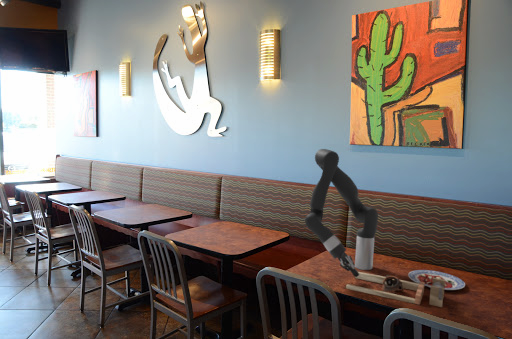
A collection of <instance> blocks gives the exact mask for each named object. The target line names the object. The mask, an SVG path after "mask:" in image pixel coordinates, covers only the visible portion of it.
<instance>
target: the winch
mask: <svg viewBox="0 0 512 339" xmlns="http://www.w3.org/2000/svg"><path fill="white" fill-rule="evenodd" d="M444 288H445V280H443V279H438V278H433V282H432V285H431V287H430V291H429V304H428V305H429V306H430V305H431V306H435V307H437V308H438V307H439V308H443V300H444V296H445V290H444Z"/></svg>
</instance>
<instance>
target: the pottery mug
mask: <svg viewBox="0 0 512 339" xmlns="http://www.w3.org/2000/svg"><path fill="white" fill-rule="evenodd" d="M384 277H386V278H384V280H383V284H382V286H381V288H382V290H381V291H382V292H387V293H391V292H392V293H393V292H395V291H400V290H401V292H402V293H404V292H405V288H403V287H402V286H403V285H402V282H401V281H400V280H401V279H399V278H398V277H397V276H395V275H390V274H387V275H385V276H384ZM392 279H394V280H392ZM385 281H386V283H387V285H386V284H385ZM392 285H393V286H392Z"/></svg>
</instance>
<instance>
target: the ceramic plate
mask: <svg viewBox="0 0 512 339" xmlns="http://www.w3.org/2000/svg"><path fill="white" fill-rule="evenodd" d="M407 274H408V275H407V276H408V278H409V279H410V280H411V281H412V282H413V283H418V284H419V283H420V282H424V283H425V285H424V287H427V288H431V285H432V282H433V278H438V279H443V280H445V288H444V291H445V290H446V291H456V290H461V289H463V288H465V286H466V283H465V281H463V280H462V279H461V278H459V277H457V276H455V275H452V274H449V273H446V272H441V271H438V270H437V271H436V270H428V269H417V270H412V271H410V272H408V273H407Z"/></svg>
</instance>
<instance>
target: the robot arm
mask: <svg viewBox="0 0 512 339" xmlns="http://www.w3.org/2000/svg"><path fill="white" fill-rule="evenodd" d="M314 159H315V160H314V161H315V163H316V165H317V166H318V167H319V168H320V169H321V171H322V173H321V176H320V179H319V181H318V182H317V184H316V185H315V187H314V188H313V190H312V193H311V198H310V202H309V206H310V210H309V211H310V212H309V214H307V215H305V217H304V224H305V225H306V227H307V228H308V229H309V231H311V232H312V233H313V234H314V235H315V236H317V238H318V239H319V240H320V242H321V244H323V246H324V248H325V249H326V250H327V251H328V252H329V254H330V255H331V256H332V257H331V258H333V259H335V260H336V259H337V260H338V261H339V263H340V264H339V266H340V267H341V268H343V269H344V270H345V271H347V272H351V273H352V275H353V277H354V278H355V277H357V276H359V273H358V272H359V271H357V270H363V271H369V270H372V269H373V263H374V249H375V236H376V233H377V228H378V223H379V222H378V220H379V213H378V210H377V209H376V208H374V207H370V206H366V205H365V204H363V202H361V200H360V198H359V189H358V187H357V185H356V183H355V182H354V181H353V179H352V178H351V177H350V176H349V175H348V174H346V173H345V172H344V170H342V169H341V168H340V167H339V166H338V165H339V162H340V161H339V160H340V156H339V154H338V152H335V150H330V149H327V148H321V149H318V150H317V151H316V152H315V155H314ZM331 183H332V184H333V187H335V190H336V191H337V192H338V193H339V195H340V196H341V198H342V199H343V200H344V202H345V203H346V205H347V206H348V207H349V209H350V211H351V212H352V214H353V217H354V218H355V219H356V221H357V222H359V223H361V224H363V228H360V229H358V230H357V232H356V241H355V242H356V245H355V258H354V259H355V260H354V259H353V258H352V256H351V255H348V254H347V252H346V251H347V248H346V247H345V245H343V243H342V242H341V240H340V239H339V238H338V237H337V236H336V235H335V234H334V233H333V232H332V231H331V229H330V228H329V227H328V226H326V225H324V224H323V223H322V221H323V218H324V217H323V215H324V207H325V204H326V200H327V196H328V191H329V188H330V186H331ZM353 260H354V261H353Z"/></svg>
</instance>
